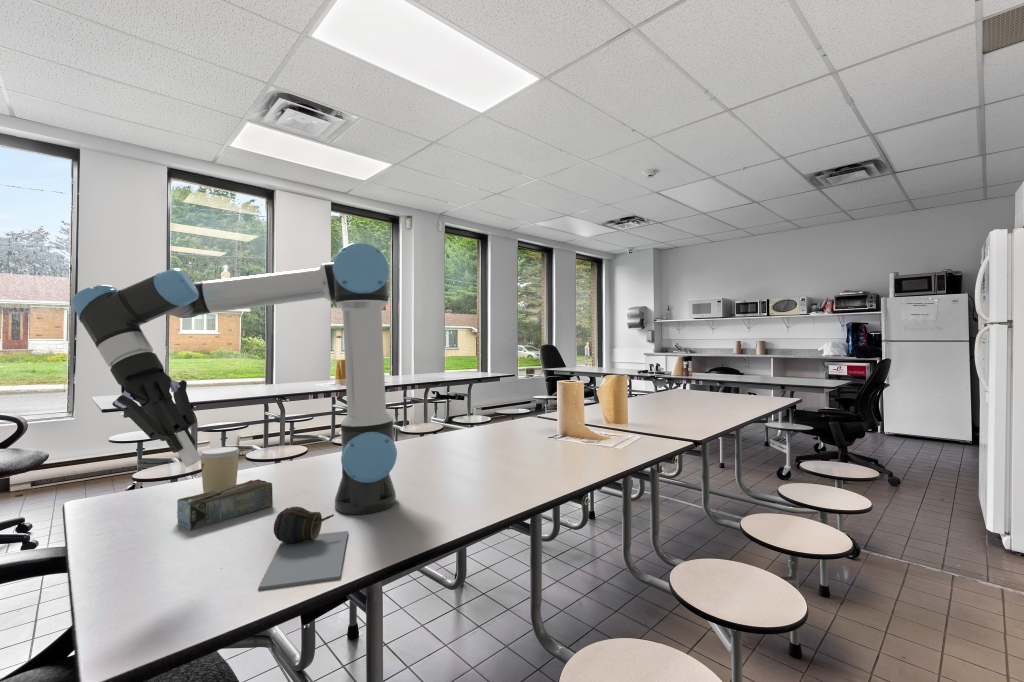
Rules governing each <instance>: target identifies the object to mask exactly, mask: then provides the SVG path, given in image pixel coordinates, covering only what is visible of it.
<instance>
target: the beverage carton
mask: <svg viewBox="0 0 1024 682" xmlns="http://www.w3.org/2000/svg"><path fill="white" fill-rule="evenodd" d="M273 503H274V500H273V482H269V481H266V480H261V479H259V478H258V479H255V480H248V481H245V482H242V483H239V484H238V483H237V484H236V485H234V486H230V487H226V488H222V489H219V490H215V491H210V492H206V493H199V494H195V495H191V496H186V497H183V498H179V499H177V501H176V504H177V505H176V506H177V507H176V508H177V511H176V514H177V516H176V517H177V524H178V525H179V526H182V527H184V528H186V530H189V531H193V530H196V529H199V528H203V527H207V526H211V525H213V524H218V523H220V522H223V521H227V520H230V519H233V518H237V517H240V516H243V515H247V514H249V513H253V512H256V511H259V510H263V509H266V508H270V507H273V505H274V504H273Z"/></svg>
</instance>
